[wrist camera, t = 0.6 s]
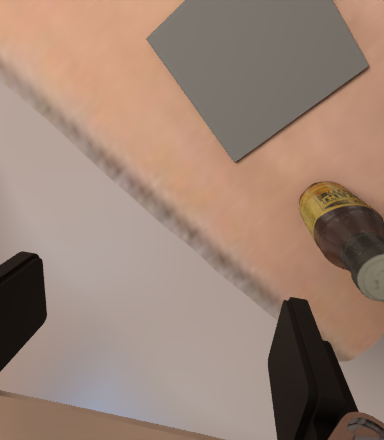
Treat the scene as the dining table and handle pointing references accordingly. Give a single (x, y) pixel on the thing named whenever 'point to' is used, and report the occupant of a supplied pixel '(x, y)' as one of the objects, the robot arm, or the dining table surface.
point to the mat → (256, 62)
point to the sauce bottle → (347, 234)
